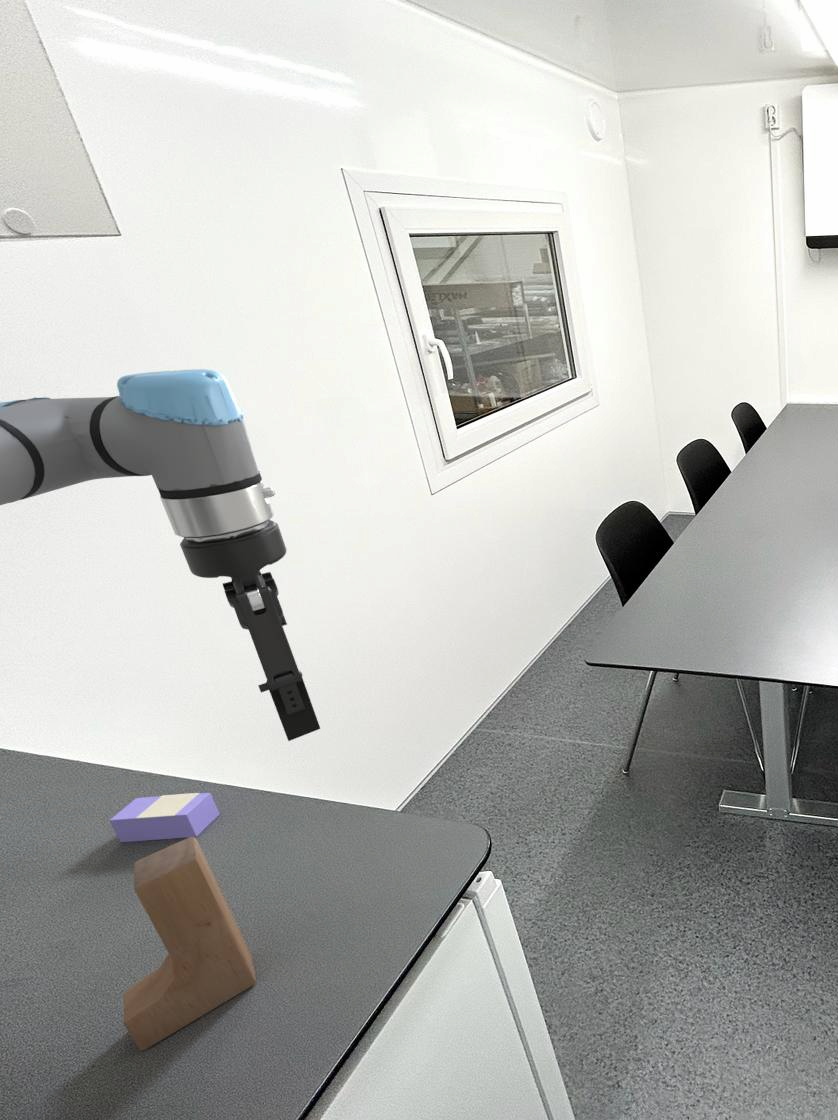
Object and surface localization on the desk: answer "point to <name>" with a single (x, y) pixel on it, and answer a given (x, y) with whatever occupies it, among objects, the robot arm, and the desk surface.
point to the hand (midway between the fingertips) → (294, 706)
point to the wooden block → (185, 945)
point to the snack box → (165, 817)
